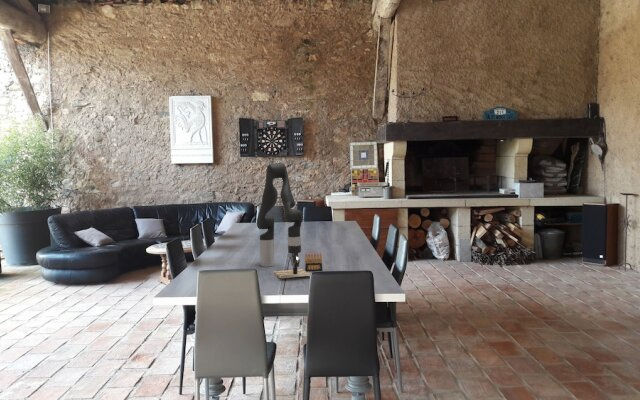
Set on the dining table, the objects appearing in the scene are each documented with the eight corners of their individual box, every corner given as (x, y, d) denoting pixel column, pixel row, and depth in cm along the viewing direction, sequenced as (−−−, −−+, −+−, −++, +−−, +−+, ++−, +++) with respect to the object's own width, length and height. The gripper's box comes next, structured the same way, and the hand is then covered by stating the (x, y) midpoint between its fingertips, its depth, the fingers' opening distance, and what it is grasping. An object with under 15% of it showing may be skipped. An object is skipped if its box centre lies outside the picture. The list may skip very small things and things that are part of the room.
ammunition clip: (305, 271, 311) (304, 252, 310) (305, 270, 313) (304, 251, 312) (322, 271, 312) (322, 251, 311) (322, 270, 313) (322, 251, 312)
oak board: (273, 273, 306) (273, 271, 306) (302, 271, 312) (302, 269, 311) (277, 277, 297) (277, 274, 297) (306, 274, 303) (306, 272, 303)
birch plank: (277, 277, 297) (277, 274, 297) (306, 274, 302) (306, 272, 302) (281, 278, 287) (281, 275, 287) (311, 275, 293) (311, 272, 293)
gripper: (285, 243, 297) (286, 272, 298) (291, 246, 284) (292, 276, 285) (297, 242, 299) (298, 271, 300) (303, 245, 287) (304, 275, 288)
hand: (295, 273), depth 293 cm, fingers closed
